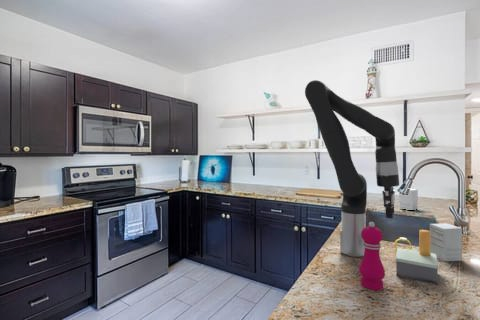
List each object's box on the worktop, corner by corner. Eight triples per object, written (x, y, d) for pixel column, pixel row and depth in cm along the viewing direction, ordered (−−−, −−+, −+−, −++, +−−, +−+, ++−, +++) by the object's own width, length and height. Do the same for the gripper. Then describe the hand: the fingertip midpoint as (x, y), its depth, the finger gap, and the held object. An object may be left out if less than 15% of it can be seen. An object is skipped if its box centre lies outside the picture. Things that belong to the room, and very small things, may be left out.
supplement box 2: (446, 253, 105) (446, 222, 105) (462, 261, 98) (463, 228, 98) (428, 254, 105) (428, 223, 105) (443, 261, 98) (444, 228, 98)
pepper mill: (373, 293, 76) (373, 226, 76) (354, 282, 83) (353, 220, 83) (390, 288, 79) (390, 223, 79) (370, 277, 86) (370, 218, 86)
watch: (410, 252, 108) (411, 238, 107) (411, 255, 105) (412, 240, 105) (393, 249, 111) (395, 235, 110) (394, 251, 108) (395, 237, 108)
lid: (395, 263, 87) (395, 233, 87) (397, 252, 97) (397, 225, 96) (438, 271, 81) (438, 239, 81) (435, 259, 90) (435, 230, 90)
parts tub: (396, 275, 87) (396, 260, 87) (398, 263, 96) (398, 250, 96) (437, 284, 81) (437, 268, 81) (435, 271, 90) (435, 256, 90)
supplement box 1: (418, 209, 186) (418, 189, 186) (412, 211, 181) (412, 190, 181) (404, 207, 194) (404, 187, 193) (398, 209, 188) (398, 188, 188)
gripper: (378, 172, 108) (381, 211, 108) (373, 175, 96) (377, 219, 96) (399, 172, 104) (402, 212, 104) (397, 174, 92) (401, 220, 92)
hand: (390, 215), depth 100 cm, fingers open, 8 cm apart
